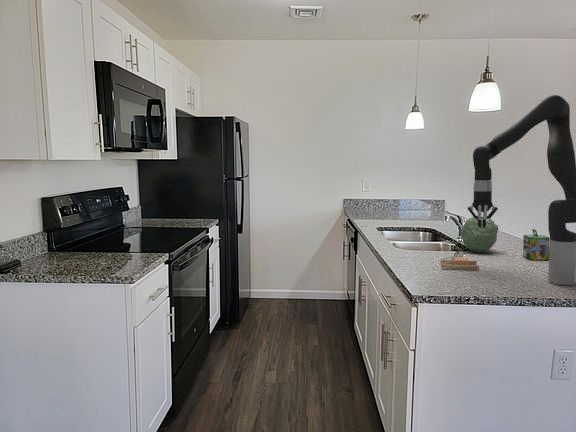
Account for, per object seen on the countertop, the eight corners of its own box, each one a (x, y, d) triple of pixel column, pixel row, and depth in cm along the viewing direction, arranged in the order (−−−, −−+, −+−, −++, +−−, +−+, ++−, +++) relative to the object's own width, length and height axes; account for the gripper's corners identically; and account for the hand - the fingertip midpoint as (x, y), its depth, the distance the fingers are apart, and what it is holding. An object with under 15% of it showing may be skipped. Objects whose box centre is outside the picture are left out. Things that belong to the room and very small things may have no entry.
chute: (478, 270, 187) (479, 266, 187) (441, 269, 192) (441, 264, 192) (476, 264, 198) (476, 260, 198) (440, 263, 204) (440, 259, 204)
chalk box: (549, 260, 201) (550, 230, 200) (528, 260, 203) (529, 230, 202) (542, 256, 210) (543, 228, 209) (522, 256, 212) (523, 228, 210)
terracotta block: (469, 269, 191) (469, 260, 191) (455, 268, 193) (455, 260, 193) (467, 266, 197) (467, 258, 197) (453, 265, 199) (454, 257, 198)
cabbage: (463, 248, 237) (463, 213, 235) (499, 251, 227) (500, 214, 224) (457, 253, 224) (457, 217, 222) (495, 256, 214) (496, 218, 211)
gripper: (467, 190, 187) (466, 228, 189) (500, 190, 182) (499, 229, 184) (466, 189, 194) (465, 226, 196) (497, 189, 189) (496, 226, 191)
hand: (481, 227), depth 190 cm, fingers closed
